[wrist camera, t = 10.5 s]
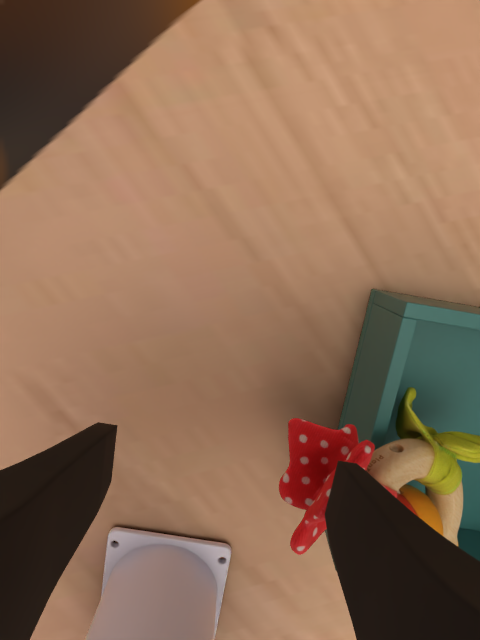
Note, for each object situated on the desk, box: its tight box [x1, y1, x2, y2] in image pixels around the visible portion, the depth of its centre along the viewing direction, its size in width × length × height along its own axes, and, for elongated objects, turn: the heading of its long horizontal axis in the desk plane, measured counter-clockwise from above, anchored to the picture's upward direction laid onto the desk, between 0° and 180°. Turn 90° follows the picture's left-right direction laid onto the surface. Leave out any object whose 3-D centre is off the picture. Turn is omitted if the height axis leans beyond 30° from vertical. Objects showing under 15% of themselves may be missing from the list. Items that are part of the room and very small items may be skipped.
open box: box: [325, 289, 480, 569], centre depth 21 cm, size 14×12×5 cm
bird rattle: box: [279, 387, 480, 555], centre depth 17 cm, size 6×11×9 cm
